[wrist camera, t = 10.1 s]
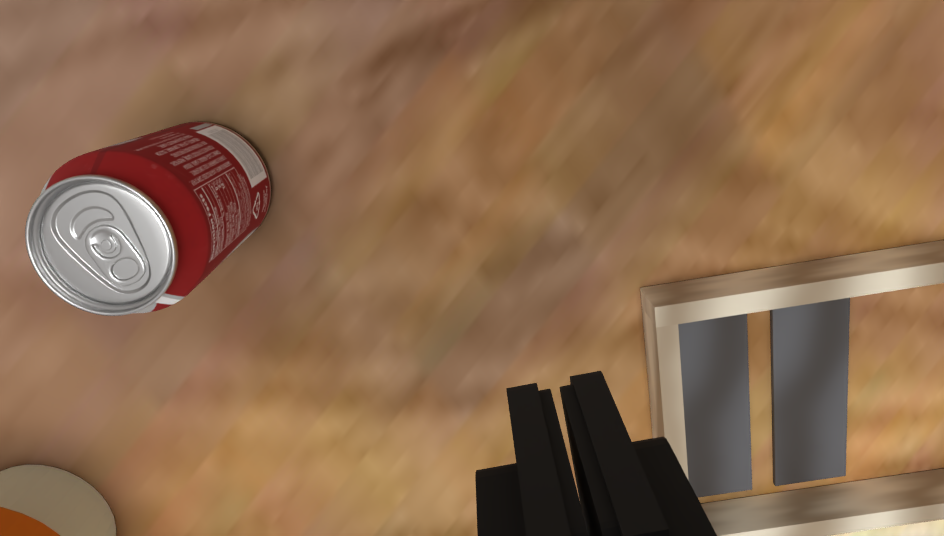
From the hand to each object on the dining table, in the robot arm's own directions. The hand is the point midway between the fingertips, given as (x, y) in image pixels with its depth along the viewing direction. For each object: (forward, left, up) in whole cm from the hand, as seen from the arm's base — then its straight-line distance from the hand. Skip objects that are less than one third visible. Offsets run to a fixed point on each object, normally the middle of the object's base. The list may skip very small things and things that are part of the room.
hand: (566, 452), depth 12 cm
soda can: (+13, -8, -26) cm, 31 cm away
